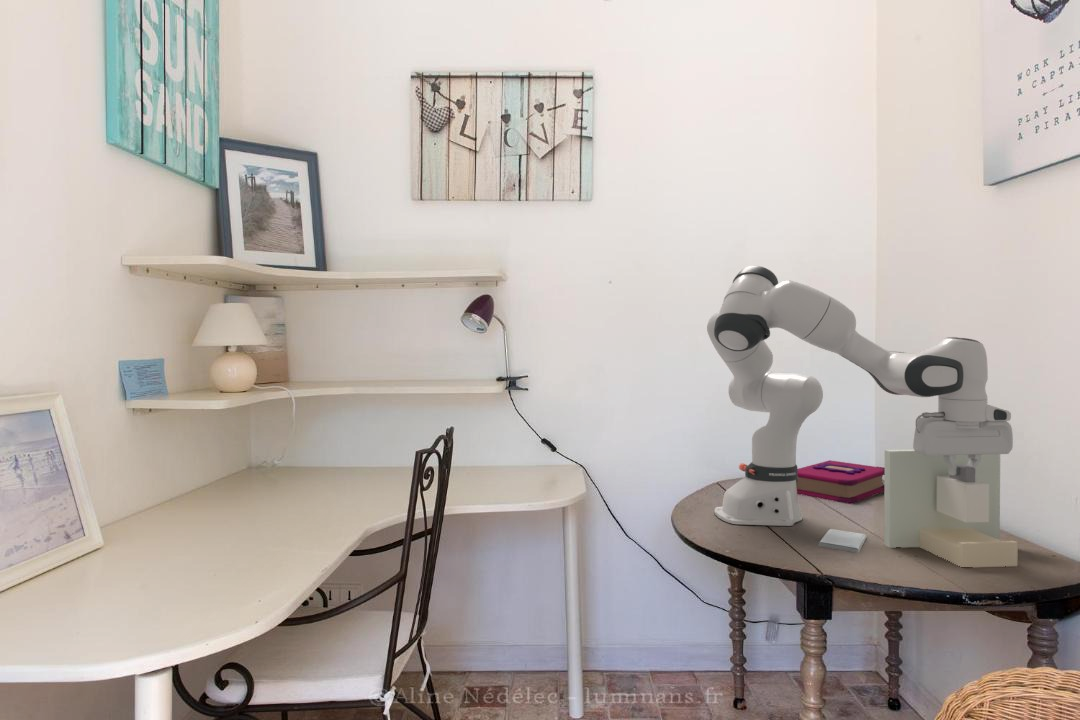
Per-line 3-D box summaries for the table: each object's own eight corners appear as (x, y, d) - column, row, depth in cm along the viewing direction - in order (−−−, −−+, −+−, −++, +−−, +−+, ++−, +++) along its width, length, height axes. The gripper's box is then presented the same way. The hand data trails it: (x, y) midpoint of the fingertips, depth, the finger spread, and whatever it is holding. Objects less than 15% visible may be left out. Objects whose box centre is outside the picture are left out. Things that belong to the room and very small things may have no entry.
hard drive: (858, 548, 136) (866, 533, 146) (818, 541, 140) (828, 527, 151) (858, 555, 136) (866, 540, 146) (818, 548, 140) (828, 534, 151)
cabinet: (966, 522, 129) (966, 470, 129) (936, 510, 138) (936, 462, 138) (988, 521, 129) (989, 470, 129) (957, 510, 138) (958, 462, 138)
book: (782, 492, 193) (782, 468, 193) (825, 479, 211) (825, 457, 210) (851, 505, 177) (851, 479, 177) (890, 490, 194) (891, 466, 194)
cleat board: (928, 568, 126) (929, 462, 125) (884, 545, 141) (884, 449, 140) (1049, 565, 127) (1050, 460, 127) (992, 542, 142) (993, 447, 141)
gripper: (925, 414, 130) (925, 478, 130) (1018, 412, 131) (1018, 476, 131) (906, 410, 136) (906, 472, 136) (995, 409, 137) (994, 470, 137)
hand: (961, 474), depth 134 cm, fingers closed on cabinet
